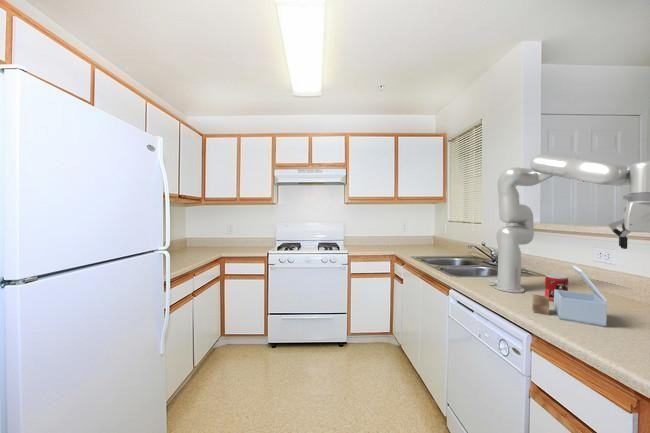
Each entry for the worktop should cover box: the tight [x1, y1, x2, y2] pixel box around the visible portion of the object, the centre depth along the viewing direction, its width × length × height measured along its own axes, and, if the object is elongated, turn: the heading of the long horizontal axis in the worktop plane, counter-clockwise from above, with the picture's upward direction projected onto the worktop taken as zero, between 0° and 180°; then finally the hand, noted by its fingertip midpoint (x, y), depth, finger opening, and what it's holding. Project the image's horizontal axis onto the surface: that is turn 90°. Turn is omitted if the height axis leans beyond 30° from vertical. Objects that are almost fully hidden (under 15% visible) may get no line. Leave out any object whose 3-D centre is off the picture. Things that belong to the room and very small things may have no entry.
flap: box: [571, 265, 608, 303], centre depth 99 cm, size 12×11×1 cm
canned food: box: [544, 272, 569, 303], centre depth 120 cm, size 8×8×11 cm
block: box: [531, 294, 550, 316], centre depth 105 cm, size 4×4×6 cm
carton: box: [553, 289, 608, 328], centre depth 100 cm, size 12×12×8 cm
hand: (643, 249), depth 91 cm, fingers open, 9 cm apart
